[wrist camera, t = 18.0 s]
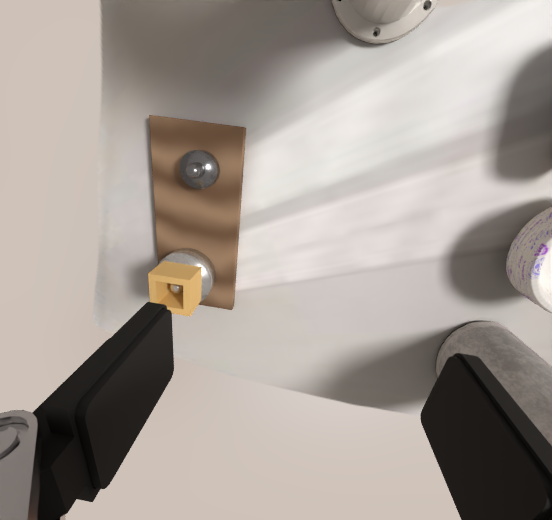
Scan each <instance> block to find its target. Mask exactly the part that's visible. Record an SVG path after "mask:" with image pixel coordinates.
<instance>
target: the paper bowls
mask: <svg viewBox="0 0 552 520" xmlns="http://www.w3.org/2000/svg"><path fill="white" fill-rule="evenodd" d="M506 261H507V262H506V270H507V276H508V279H509V281H510V282H511V284H512V285H513V286H514V288H516V289H517V290H518V291H519V292H520V293H521V294H522V295H524V296H525V297H527V298H528V299H530V300H531V301H532V302H534V303H535V304H537V305H539V306H540V307H542V308H543V309H544V310H546V311H548V312H550V313H552V206H551V207H549V208H547V209H546V210H544V211H543V212H542V213H539V214H538V215H536V216H535V217H534V218H533V219H532V220H530V221H529V222H528V223H527V224H526V225H525V226H524V227H523V228H522V229H521V230H520V232H519V233H518V235H517V236H516V238H515V239H514V241H513V242H512V244H511V247H510V251H509V252H508V256H507V259H506Z"/></svg>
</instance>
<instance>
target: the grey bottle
mask: <svg viewBox="0 0 552 520" xmlns="http://www.w3.org/2000/svg"><path fill="white" fill-rule="evenodd" d="M455 353H462V354H468V355H474V356H477V357H479V358H480V359H481V360H482V361H483V363H484V364H485V365H486V366H487V367H488V369H489V370H490V371H491V372H492V374H493V375H494V376H495V377H496V378H497V380H498V381H499V382H500V383H501V385H502V386H503V387H504V388H505V389H506V391H507V392H508V393H509V394H510V396H511V397H512V398H513V399H514V400H515V402H516V403H517V404H518V405H519V407H520V408H521V409H522V410H523V411H524V413H525V414H526V415H527V416H528V418H529V419H530V420H531V421H532V422H533V424H534V425H535V426H536V427H537V429H538V430H539V431H540V432H541V433H542V435H543V436H544V437H545V438H546V440H547V441H548V442H549V443H550V444H551V446H552V366H551V365H549V364H548V363H547V362H546V361H545V360H544V359H542V358H541V357H540V356H539V355H538V354H537V353H535V352H534V351H533V350H532V349H531V348H529V347H528V346H527V345H526V344H525V343H524V342H522V341H521V340H520V339H519V338H518V337H516V336H515V335H514V334H513V333H512V332H511V331H510V330H509V329H508V328H506V327H505V326H503V325H501V324H499V323H495V322H487V321H482V322H473V323H469V324H467V325H465V326H463V327H461V328H459V329H457V330H456V331H454V332H453V333H451V334H450V336H449V337H448V338H447V339H446V340H445V342H444V343H443V344H442V346H441V349H440V351H439V353H438V357H437V362H436V373H437V378H438V377H439V375H440V373H441V371H442V369H443V367H444V365H445V363H446V361H447V359H448V358H449V357H451V356H453V355H454V354H455Z"/></svg>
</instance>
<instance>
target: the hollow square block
mask: <svg viewBox="0 0 552 520" xmlns="http://www.w3.org/2000/svg"><path fill="white" fill-rule="evenodd" d="M148 280H149V294H150V302H152V303H159V304H165V305H166V306H167V309H168V310H171V313H173V314H179V315H185V316H191V315H192V313H193V312H194V310H195V309H196V307H197V306H198V304H199V303H200V301H201V286H202V267H199V266H193V265H187V264H180V263H174V262H168V261H163V262H162V263H160V264H159V265H158V266H157V267H155V268H154V269H153V270H152V271H150V272H149V273H148ZM171 284H177V285H183V292H181V293H174V292H172V290H171V288H170V286H171Z"/></svg>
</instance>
